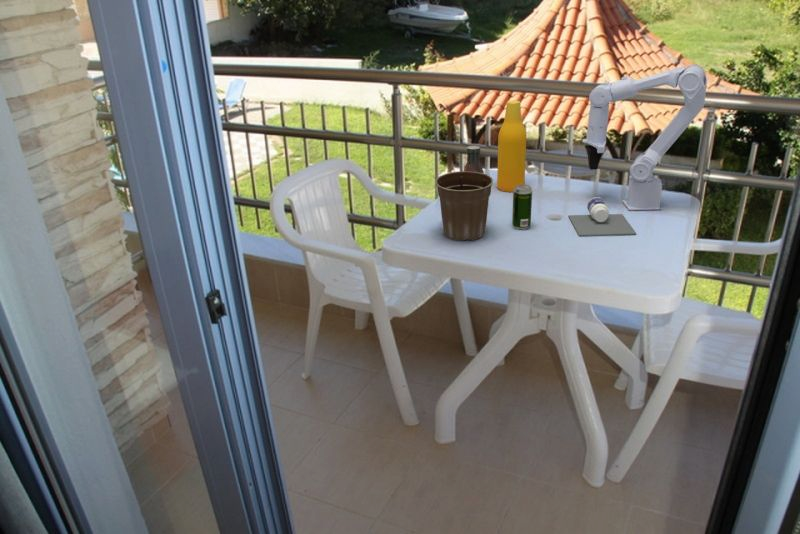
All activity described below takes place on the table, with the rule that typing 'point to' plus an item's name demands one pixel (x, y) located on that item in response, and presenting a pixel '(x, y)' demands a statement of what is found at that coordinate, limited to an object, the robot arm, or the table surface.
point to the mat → (601, 225)
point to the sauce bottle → (473, 160)
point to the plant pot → (464, 203)
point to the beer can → (522, 207)
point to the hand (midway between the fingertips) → (592, 168)
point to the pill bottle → (598, 209)
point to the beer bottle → (511, 149)
